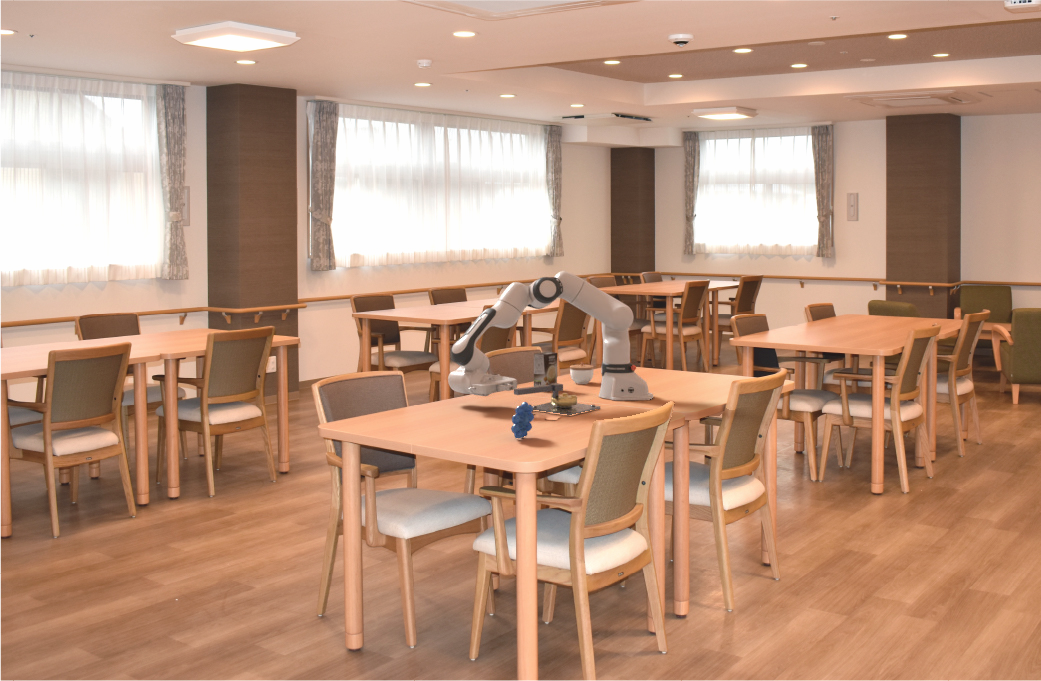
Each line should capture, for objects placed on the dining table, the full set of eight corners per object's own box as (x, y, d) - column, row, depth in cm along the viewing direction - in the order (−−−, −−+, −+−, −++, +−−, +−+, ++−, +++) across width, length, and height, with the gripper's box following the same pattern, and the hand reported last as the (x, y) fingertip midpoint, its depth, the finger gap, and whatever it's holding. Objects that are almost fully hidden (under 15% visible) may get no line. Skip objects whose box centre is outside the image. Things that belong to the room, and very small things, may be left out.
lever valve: (565, 400, 377) (565, 380, 376) (582, 404, 369) (582, 383, 368) (507, 408, 360) (507, 387, 359) (524, 412, 352) (524, 390, 351)
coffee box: (545, 392, 410) (545, 354, 408) (533, 390, 414) (533, 353, 412) (557, 389, 418) (557, 352, 416) (545, 388, 421) (545, 351, 419)
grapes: (521, 433, 326) (521, 398, 324) (538, 436, 322) (538, 400, 320) (501, 439, 316) (501, 403, 315) (519, 442, 312) (519, 405, 311)
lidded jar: (567, 384, 432) (567, 363, 431) (572, 380, 442) (573, 360, 441) (590, 385, 428) (590, 364, 427) (595, 382, 439) (596, 361, 438)
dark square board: (557, 403, 384) (558, 398, 384) (600, 408, 372) (600, 403, 372) (527, 410, 368) (527, 405, 368) (570, 416, 356) (570, 411, 356)
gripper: (465, 379, 363) (493, 383, 355) (499, 373, 379) (527, 376, 371) (465, 396, 364) (493, 400, 355) (499, 389, 380) (527, 393, 372)
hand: (511, 388), depth 363 cm, fingers closed
